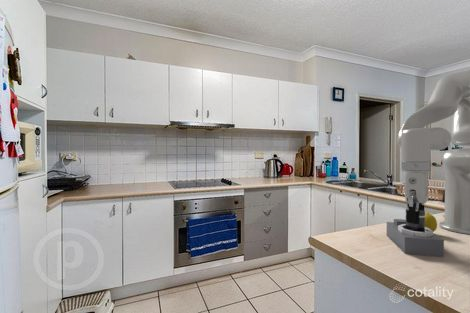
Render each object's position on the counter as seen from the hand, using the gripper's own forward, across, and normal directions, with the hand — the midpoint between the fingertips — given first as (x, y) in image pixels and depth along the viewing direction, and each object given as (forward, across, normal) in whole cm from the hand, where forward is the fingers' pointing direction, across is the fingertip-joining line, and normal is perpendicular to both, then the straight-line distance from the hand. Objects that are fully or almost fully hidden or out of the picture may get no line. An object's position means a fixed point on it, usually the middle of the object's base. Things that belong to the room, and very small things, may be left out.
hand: (415, 219), depth 77 cm
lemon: (+10, +17, -1) cm, 20 cm away
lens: (+4, -1, 0) cm, 4 cm away
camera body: (+9, +1, +1) cm, 9 cm away
